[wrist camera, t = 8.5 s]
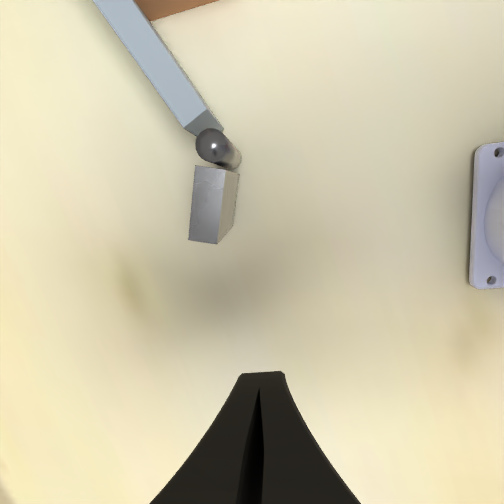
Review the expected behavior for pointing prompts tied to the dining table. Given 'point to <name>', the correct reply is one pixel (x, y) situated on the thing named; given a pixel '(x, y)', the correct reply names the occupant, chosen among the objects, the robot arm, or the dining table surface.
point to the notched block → (167, 7)
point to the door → (158, 64)
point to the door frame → (214, 188)
